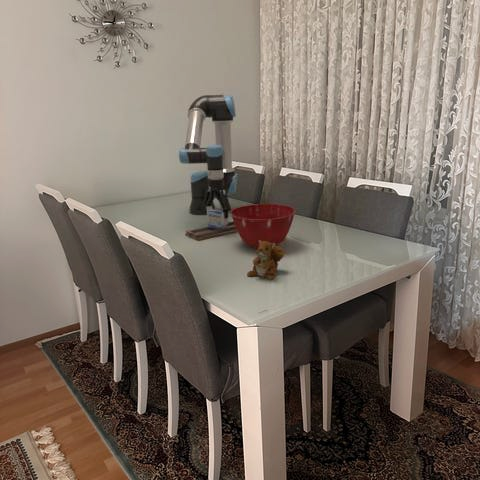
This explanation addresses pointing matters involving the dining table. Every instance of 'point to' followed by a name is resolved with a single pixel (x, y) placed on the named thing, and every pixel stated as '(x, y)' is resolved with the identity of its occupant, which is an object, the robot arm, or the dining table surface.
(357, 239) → the dining table surface
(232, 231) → the tray
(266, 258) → the stuffed squirrel
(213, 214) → the medicine box
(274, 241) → the mixing bowl
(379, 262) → the dining table surface
